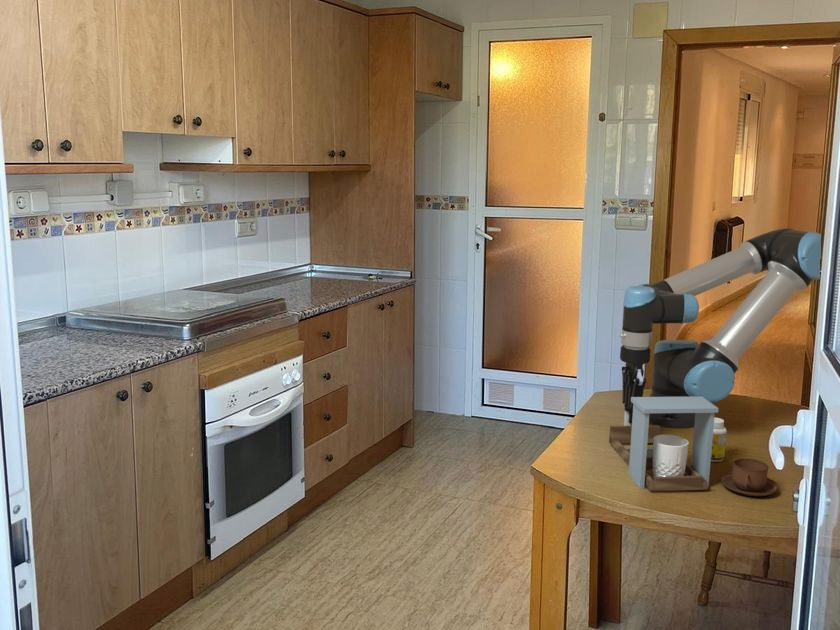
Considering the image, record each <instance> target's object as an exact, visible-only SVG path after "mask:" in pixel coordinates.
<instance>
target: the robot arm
mask: <svg viewBox="0 0 840 630" xmlns="http://www.w3.org/2000/svg"><path fill="white" fill-rule="evenodd" d="M821 234H822V233H819V232H817V231H805V230H800V229H794V228H778V229H777V228H776V229H773V230H770V231H768V232H765V233H762V234H760V235H757V236H754V237H752V238H749V239H748V240H745V241H743V242H741V243H740V244H739V247H738V248H736V249H732V250H731V251H728V252H726V253H724V254H721V255H718V256H717V257H714V258H711V259H710V260H709V259H708V260H707V261H705V262H703V263H699V264H698V265H696V266H694V267H691V268H687V269H686V270H684V271H681V272H679V273H677V274H674V275H671V276H669V277H667V278H665V279H663V280H659V281H656V282H655V283H652V284H650V283H641V284H639V285H633V286H628V287H627V288H626V289H625V292H624V297H623V298H624V299H623V309H622V310H623V312H622V313H623V314H622V327H621V330H622V331H621V333H620V334H619V337H620V338H621V341H620V343H621V347H620V351H619V353H620V354H619V358H620V361H621V362H624V363H625V366H621V374H622V376H621V377H622V404H623V405H624V417H623V418H624V419H623V426H632V417H633V403H632V402H631V397H644V390H645V386H646V383H647V379H646V378H645V377H644V371H645V370H644V368H643V365H645V364H648V363H650V361H651V351H652V350H651V348H650V347H651V346H652V342H653V337H652V336H653V327H654V324H655V325H656V324H657V325H659V324H680V325H683V324H689V323H693V322H695V321H696V320H697V319H698V316H699V313H700V312H699V310H700V305H699V300H698V299H697V297H696V296H698V295H701V294H704V293H706V292H707V291H711V290H712V289H715V288H717V287H720V286H722V285H724V284H725V285H726V284H727V283H729V282H732V281H733V280H736V279H739V278H741V277H743V276H746V275H748V274H754V275H757V274H760V273H762V272H766V271H768V272H767V273H766V274H765V275H764V277H763V278H762V279H760V280H759V282H758V283H757V285H756V286H755V287H754V288H753V289H752V291H750V293H749V294H748V295H747V296H746V298H745V299H744V300H743V301H742V302H741V304H740V305H739V306H738V307H737V308H736V310H735V311H734V312H733V313H732V314H731V315H730V317H729V318H728V319H727V320H726V321H725V322H724V324H722V326H721V327H720V328H719V329H718V331H717V332H716V333H715V334H714V335H713V336H712V338H711V339H708V340H701V342H700V343H699V342H698V341H695V340H687V339H663V340H659V341H657V342H656V343H655V346H654V351H653V366H652V367H653V368H652V381H651V392H650V394H649V397H696V396H702V397H704V398H705V399H706V400H708V401H709V402H710V403H712V404H713V403H716V402H720V401H722V400H724V399H725V398H727V397H728V396H729V395H730V394H731V392H732V391H733V389H734V387H735V380H736V375H735V374H736V372H737V371H738V370H739V363H738V362H739V360H740V358H741V357H742V356H743V355H744V354H745V353H746V351H747V350H748V349H749V348H750V347H751V345H752V344H753V343H754V342H755V340H756V339H757V338H758V337H759V336H760V335H761V333H763V331H764V330H765V329H766V328H767V327H768V325H769V324H770V323H771V322H772V321H773V320H774V318H775V317H776V316H777V314H779V312H780V311H781V310H782V309H783V307H784V306H786V304H787V303H788V302H789V300H790V299H791V298H792V297H793V296H794V294H796V292H797V291H798V292H799V291H805V290H806V289H807V288H808V287H809V286H810V285H811V283H813V282H814V280H821V279H820V259H821ZM650 423H651V424H653V425H659V426H660V427H666V428H671V429H673V428H674V429H675V428H676V429H686V428H694V424H695V413H650V414H649V424H650Z"/></svg>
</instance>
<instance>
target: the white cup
mask: <svg viewBox="0 0 840 630" xmlns="http://www.w3.org/2000/svg"><path fill="white" fill-rule="evenodd" d="M689 444H690V442H689V440H688V439H686V438H684V437H682V436H679V435H676V434H675V435H674V434H660V435H657V436H655V437H654V438H653V443H652V449H653V469H652V479H653V481H654V476H685V474H686V472H685V467H686V462H688V461H687V460H688V451H689Z"/></svg>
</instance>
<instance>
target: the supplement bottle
mask: <svg viewBox="0 0 840 630" xmlns="http://www.w3.org/2000/svg"><path fill="white" fill-rule="evenodd" d="M727 432H728V431H727V428H726V427H725V420H724V419H723V418H720V417H714V429H713V440H712V451H711V462H712V463H721V462H722V461H723V460H724V459H725V453H726V442H727V441H726V440H727Z"/></svg>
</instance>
